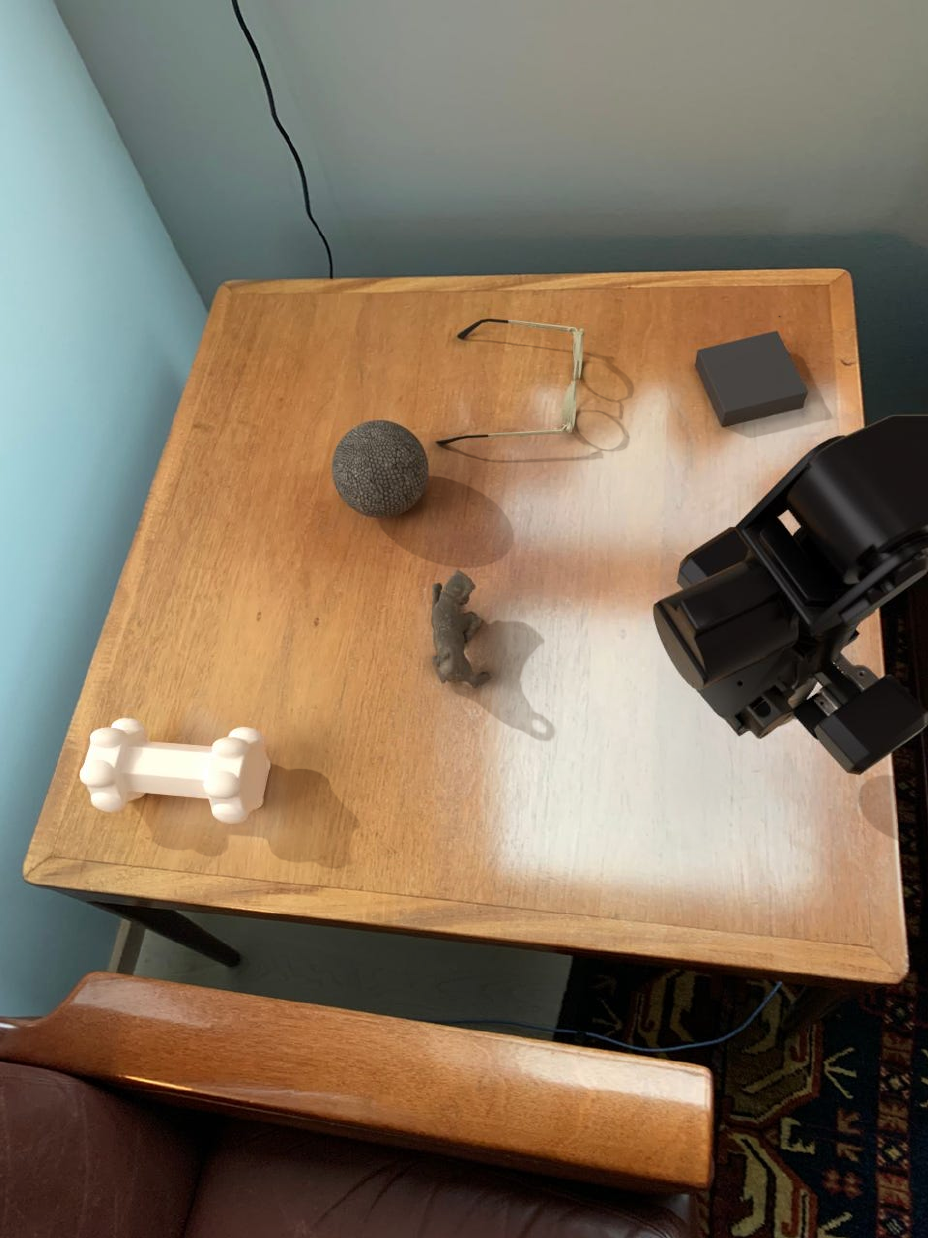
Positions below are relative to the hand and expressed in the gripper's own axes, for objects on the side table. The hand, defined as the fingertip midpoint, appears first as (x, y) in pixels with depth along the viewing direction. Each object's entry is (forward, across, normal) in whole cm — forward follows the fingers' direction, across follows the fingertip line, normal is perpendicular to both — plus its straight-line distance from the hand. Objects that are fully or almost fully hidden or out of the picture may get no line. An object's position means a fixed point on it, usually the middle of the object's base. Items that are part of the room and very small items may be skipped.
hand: (771, 685), depth 68 cm
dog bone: (+12, -25, -45) cm, 53 cm away
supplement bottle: (+3, 0, 0) cm, 3 cm away
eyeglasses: (+12, -46, +5) cm, 48 cm away
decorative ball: (+12, -42, -14) cm, 46 cm away
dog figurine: (+12, -23, -16) cm, 31 cm away
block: (+12, -30, +26) cm, 42 cm away
